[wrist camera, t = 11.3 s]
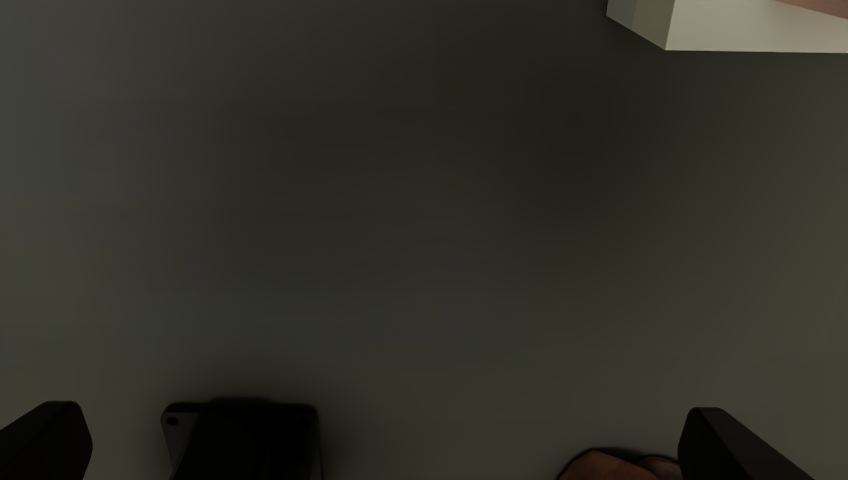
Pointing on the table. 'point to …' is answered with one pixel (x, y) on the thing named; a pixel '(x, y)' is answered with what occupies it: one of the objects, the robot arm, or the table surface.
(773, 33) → the white foam block
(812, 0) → the coral brick
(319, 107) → the table surface
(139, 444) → the table surface
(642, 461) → the wooden figurine
